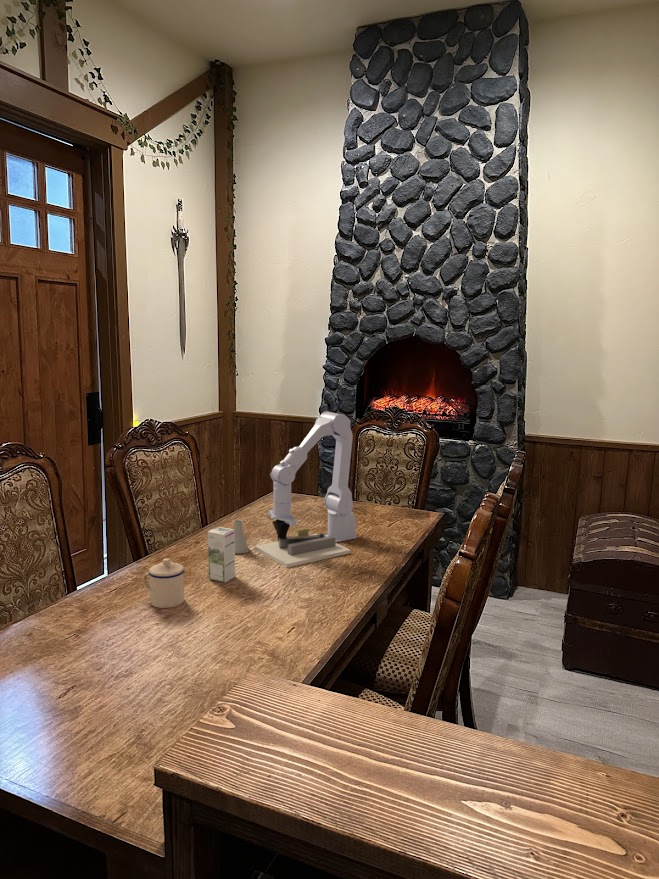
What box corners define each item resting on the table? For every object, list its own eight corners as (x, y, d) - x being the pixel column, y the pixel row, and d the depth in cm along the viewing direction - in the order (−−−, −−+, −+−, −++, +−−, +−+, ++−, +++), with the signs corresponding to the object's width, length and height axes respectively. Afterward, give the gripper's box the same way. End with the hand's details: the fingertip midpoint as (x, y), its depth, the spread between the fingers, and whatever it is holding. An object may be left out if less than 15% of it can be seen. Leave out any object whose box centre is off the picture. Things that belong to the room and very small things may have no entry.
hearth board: (315, 537, 224) (315, 525, 223) (350, 553, 208) (350, 540, 207) (254, 549, 210) (254, 537, 209) (286, 567, 194) (286, 554, 193)
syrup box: (236, 576, 186) (235, 528, 184) (224, 583, 181) (223, 534, 179) (219, 573, 189) (219, 525, 186) (207, 580, 183) (206, 531, 181)
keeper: (304, 539, 217) (304, 526, 216) (308, 541, 215) (308, 528, 214) (294, 541, 214) (294, 528, 214) (298, 543, 212) (298, 530, 212)
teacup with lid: (191, 598, 171) (191, 556, 169) (172, 611, 162) (171, 567, 161) (153, 591, 175) (152, 550, 173) (132, 604, 166) (131, 561, 165)
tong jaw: (323, 543, 214) (323, 532, 213) (325, 545, 211) (325, 534, 211) (278, 546, 210) (278, 535, 209) (279, 548, 207) (279, 537, 207)
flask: (251, 547, 212) (251, 518, 210) (246, 555, 205) (246, 524, 203) (230, 546, 213) (229, 517, 211) (224, 554, 206) (224, 523, 204)
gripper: (260, 498, 212) (260, 538, 214) (283, 508, 201) (282, 550, 203) (279, 495, 216) (278, 534, 218) (302, 505, 205) (301, 546, 207)
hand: (281, 542), depth 211 cm, fingers closed
